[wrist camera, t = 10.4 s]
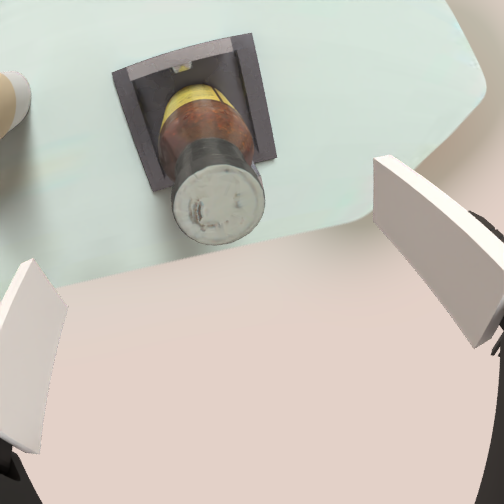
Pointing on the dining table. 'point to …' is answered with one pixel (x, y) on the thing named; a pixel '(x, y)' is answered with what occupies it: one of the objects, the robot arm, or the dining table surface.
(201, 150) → the sauce bottle
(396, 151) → the dining table surface
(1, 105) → the coffee cup
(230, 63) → the clip holder
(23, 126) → the dining table surface
